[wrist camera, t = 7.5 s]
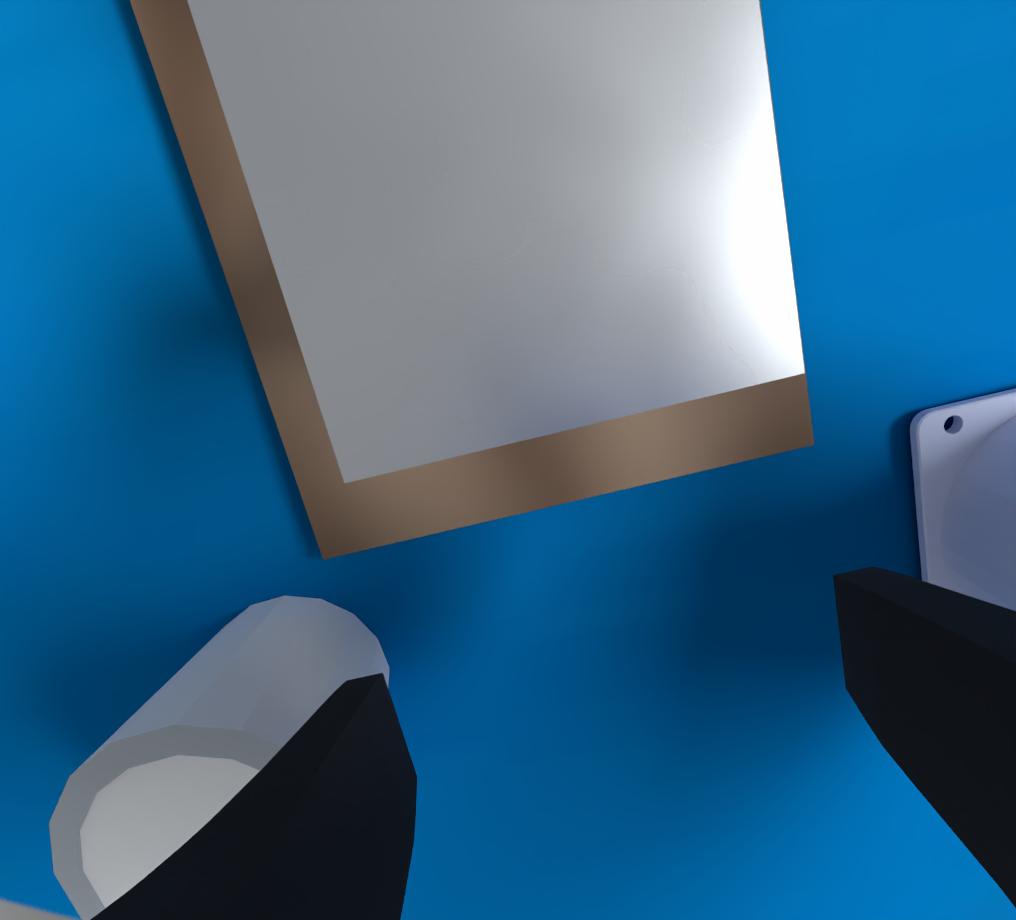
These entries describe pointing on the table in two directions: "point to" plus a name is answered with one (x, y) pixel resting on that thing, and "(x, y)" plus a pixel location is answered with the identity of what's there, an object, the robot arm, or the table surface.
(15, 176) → the table surface
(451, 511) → the stand
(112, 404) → the table surface
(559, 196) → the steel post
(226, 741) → the shot glass
